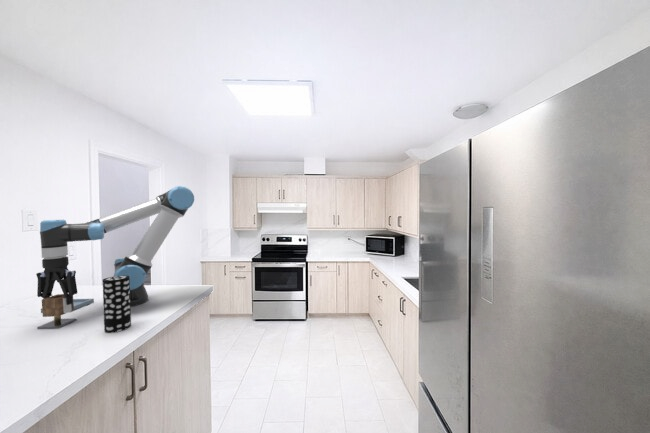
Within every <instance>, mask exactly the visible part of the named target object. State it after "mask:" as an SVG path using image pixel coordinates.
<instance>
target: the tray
mask: <svg viewBox="0 0 650 433" xmlns="http://www.w3.org/2000/svg"><path fill="white" fill-rule="evenodd" d="M94 300H95V299H94V298H73V303H74V310H73V311H70V312H69V313H72V312H74V311H77V310H78V309H81V308H84V307H86V306H88V305H91V304H94ZM40 314H43V313H42V307H41V308H40Z"/></svg>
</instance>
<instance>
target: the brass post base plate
mask: <svg viewBox="0 0 650 433" xmlns="http://www.w3.org/2000/svg"><path fill="white" fill-rule="evenodd" d="M75 321H77V318H74V317H73V318H62V315H61V316H53V320H52V321H49V322H47V323H44V324H42V325H39V326H37V330H51V329H52V330H54V329H55V330H56V329H61V328H63V327H64V326H67V325H69V324H71V323H74V322H75Z"/></svg>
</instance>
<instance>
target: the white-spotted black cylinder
mask: <svg viewBox="0 0 650 433" xmlns="http://www.w3.org/2000/svg"><path fill="white" fill-rule="evenodd" d="M113 276H114V275H113ZM113 276H110V277H106V278H103V279H102V301H103V303H102V304H103V327H104V328H103V329H104V333H107V334H112V333H119V332H122V331H124V330H127V329H129V328H130V327H132V317H131V316H132V315H131V314H132V313H131V306H130V277H129V276H125V275H124V276H114V277H113Z"/></svg>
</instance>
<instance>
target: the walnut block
mask: <svg viewBox="0 0 650 433" xmlns="http://www.w3.org/2000/svg"><path fill="white" fill-rule="evenodd" d="M63 297H65V296H64V293H62V294H61V293H60V294H59V293H58V294H55V295H52V296H50V297H48V298H45V299H43V298H41V308H42V313H41V314H42V317H43V318H47V317H53V318H54V316H61V317H62V316H63V315H65V314H64V311H63ZM73 299H74V295H73V296H72V301H73ZM71 308H72V312H74V311H75V310H74V303H73V302H72V304H71ZM73 310H74V311H73Z"/></svg>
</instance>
